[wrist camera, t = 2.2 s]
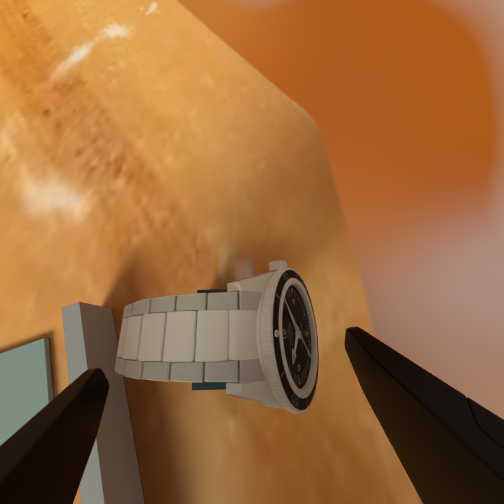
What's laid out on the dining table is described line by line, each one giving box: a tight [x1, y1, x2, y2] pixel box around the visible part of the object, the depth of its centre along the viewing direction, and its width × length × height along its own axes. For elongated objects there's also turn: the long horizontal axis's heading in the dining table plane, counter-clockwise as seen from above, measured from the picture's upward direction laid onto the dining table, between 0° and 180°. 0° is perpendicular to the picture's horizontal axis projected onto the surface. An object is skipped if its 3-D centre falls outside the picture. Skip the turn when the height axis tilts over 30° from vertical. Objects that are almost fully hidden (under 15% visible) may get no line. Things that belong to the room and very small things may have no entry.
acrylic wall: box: [62, 302, 145, 504], centre depth 13 cm, size 16×1×4 cm, turn 21°
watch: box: [114, 260, 319, 414], centre depth 12 cm, size 6×8×11 cm
